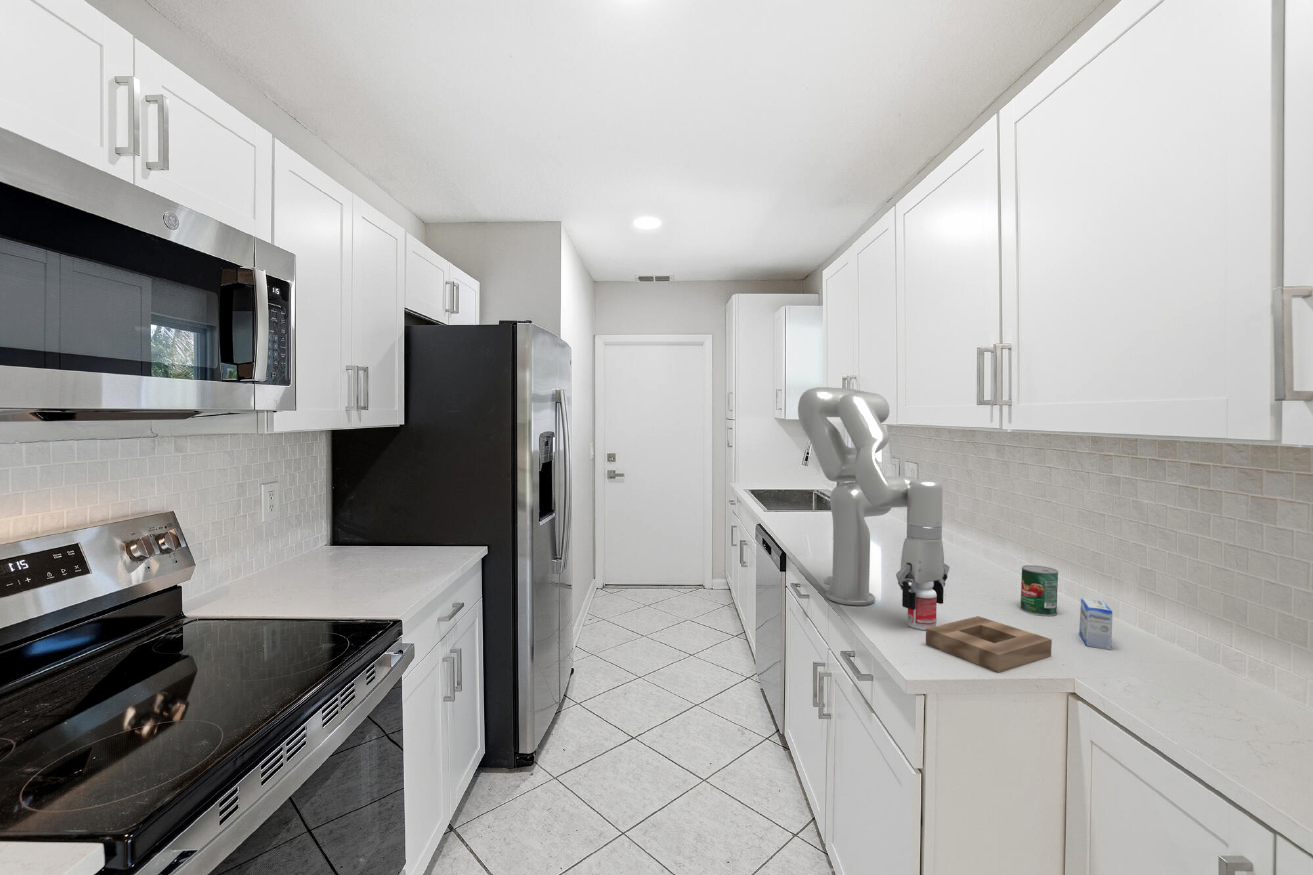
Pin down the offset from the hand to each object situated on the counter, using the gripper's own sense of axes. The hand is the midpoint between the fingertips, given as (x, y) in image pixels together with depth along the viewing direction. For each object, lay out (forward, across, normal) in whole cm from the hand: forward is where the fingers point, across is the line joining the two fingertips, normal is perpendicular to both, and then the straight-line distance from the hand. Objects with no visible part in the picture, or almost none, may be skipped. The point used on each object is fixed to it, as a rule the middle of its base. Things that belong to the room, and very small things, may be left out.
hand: (922, 605), depth 139 cm
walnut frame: (+5, 0, +16) cm, 17 cm away
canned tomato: (+5, -37, +6) cm, 38 cm away
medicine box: (+6, -26, +24) cm, 36 cm away
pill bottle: (+5, 0, 0) cm, 5 cm away
